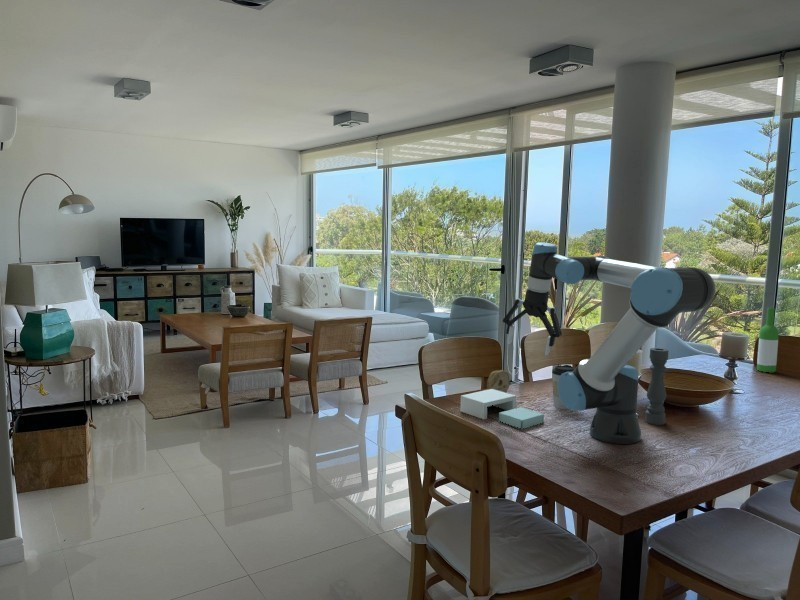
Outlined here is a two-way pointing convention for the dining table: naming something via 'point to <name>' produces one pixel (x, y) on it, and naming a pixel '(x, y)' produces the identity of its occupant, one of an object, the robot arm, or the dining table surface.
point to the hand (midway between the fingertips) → (527, 348)
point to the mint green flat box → (521, 417)
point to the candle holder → (657, 387)
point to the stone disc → (498, 381)
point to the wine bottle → (768, 344)
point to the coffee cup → (556, 374)
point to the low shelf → (486, 402)
